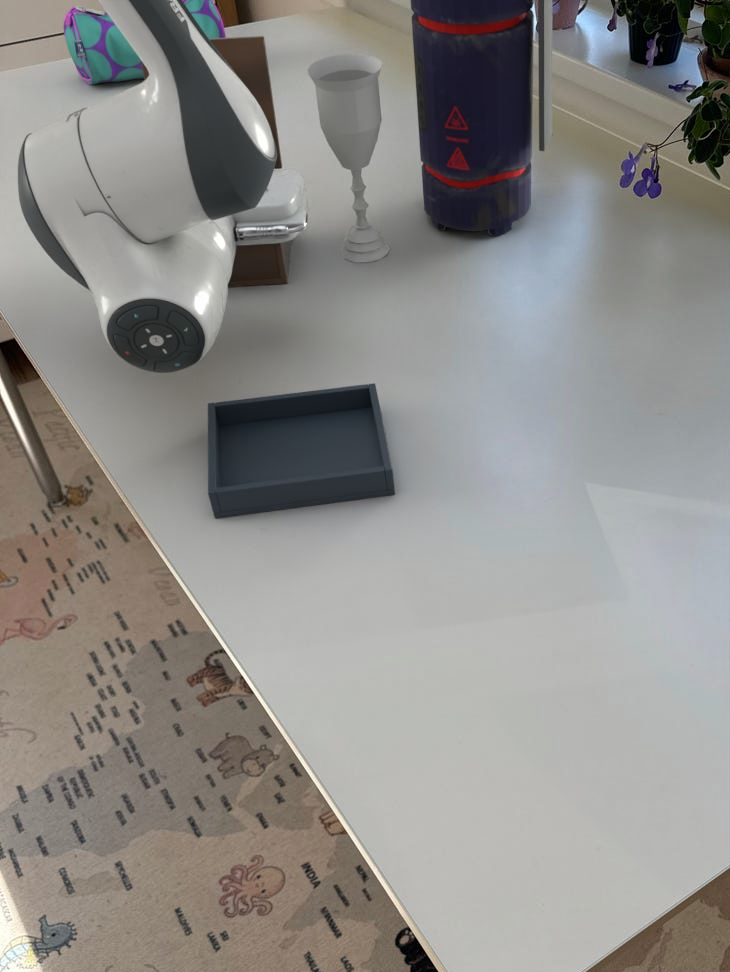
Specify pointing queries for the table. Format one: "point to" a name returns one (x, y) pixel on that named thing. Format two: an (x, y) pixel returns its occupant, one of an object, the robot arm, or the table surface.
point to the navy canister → (479, 107)
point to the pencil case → (119, 42)
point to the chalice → (352, 135)
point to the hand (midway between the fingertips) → (200, 170)
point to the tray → (297, 450)
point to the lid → (249, 74)
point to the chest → (261, 264)
